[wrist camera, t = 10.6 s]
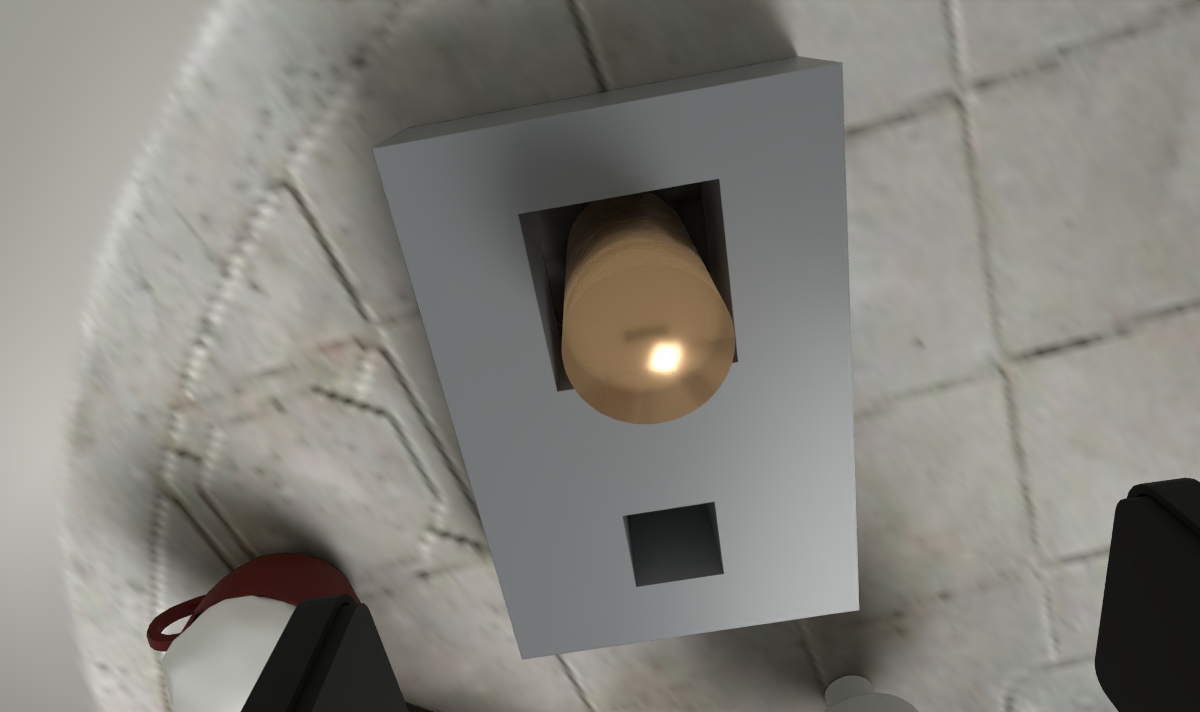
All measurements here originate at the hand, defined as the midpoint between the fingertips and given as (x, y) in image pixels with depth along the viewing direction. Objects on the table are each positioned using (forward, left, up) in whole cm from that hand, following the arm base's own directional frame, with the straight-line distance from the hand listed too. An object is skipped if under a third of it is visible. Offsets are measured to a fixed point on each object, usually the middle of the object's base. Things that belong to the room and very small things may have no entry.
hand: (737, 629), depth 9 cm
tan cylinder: (0, 0, -16) cm, 16 cm away
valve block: (0, +4, -16) cm, 17 cm away
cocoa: (+15, +12, -17) cm, 26 cm away
